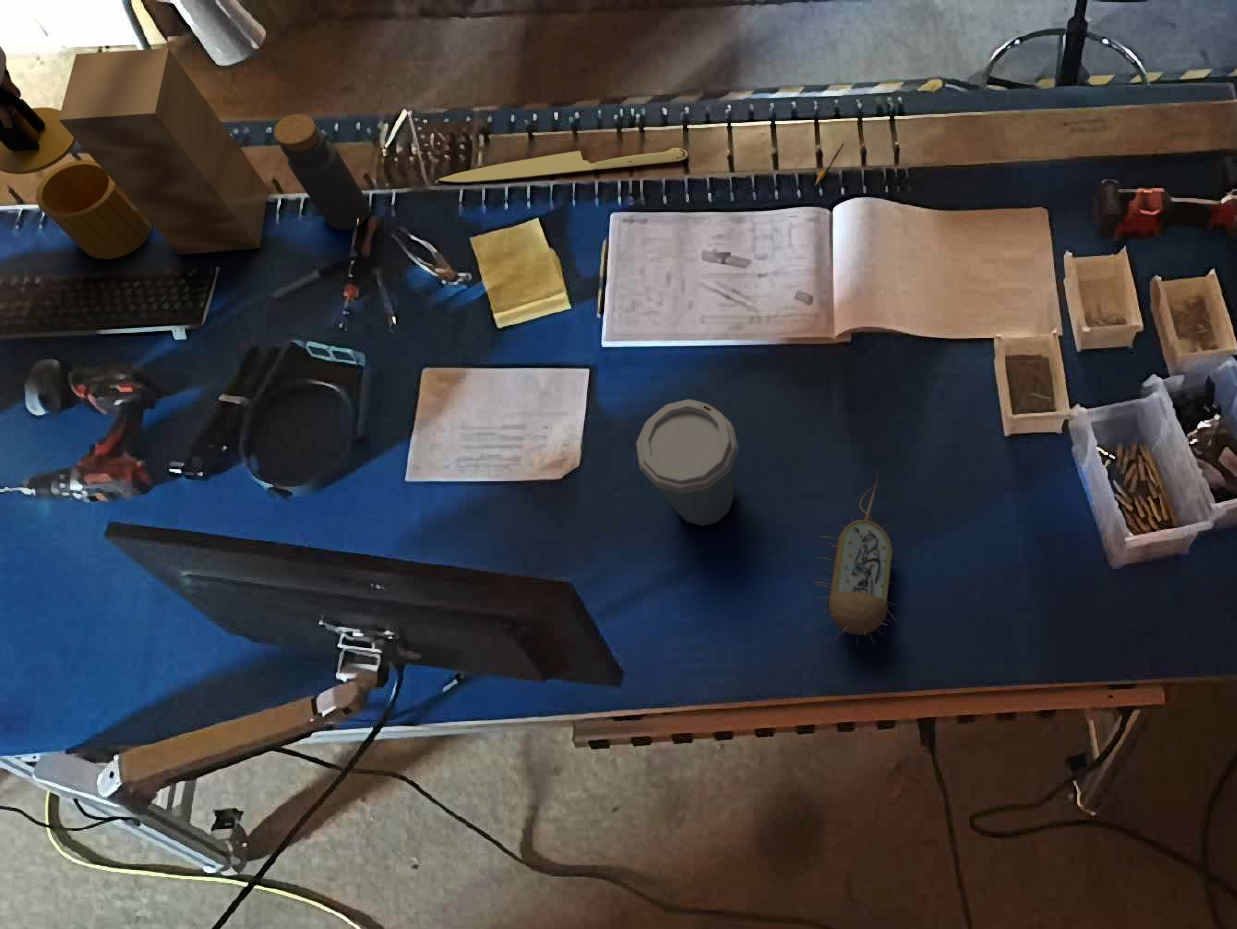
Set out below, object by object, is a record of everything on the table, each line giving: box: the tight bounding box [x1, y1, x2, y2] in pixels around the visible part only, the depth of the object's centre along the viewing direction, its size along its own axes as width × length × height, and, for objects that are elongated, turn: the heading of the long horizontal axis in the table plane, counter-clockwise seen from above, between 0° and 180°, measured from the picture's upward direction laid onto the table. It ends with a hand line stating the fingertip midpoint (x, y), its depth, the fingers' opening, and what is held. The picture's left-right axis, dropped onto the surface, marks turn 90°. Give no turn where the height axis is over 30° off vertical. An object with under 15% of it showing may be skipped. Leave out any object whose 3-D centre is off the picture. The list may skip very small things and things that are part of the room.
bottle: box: [273, 113, 371, 231], centre depth 133 cm, size 6×6×15 cm
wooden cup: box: [35, 159, 154, 260], centre depth 134 cm, size 9×9×8 cm
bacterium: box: [815, 467, 903, 647], centre depth 116 cm, size 11×20×10 cm, turn 174°
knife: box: [437, 147, 689, 183], centre depth 144 cm, size 1×34×5 cm
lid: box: [0, 103, 77, 175], centre depth 121 cm, size 10×10×5 cm
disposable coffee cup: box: [635, 398, 739, 526], centre depth 117 cm, size 11×11×15 cm
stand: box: [58, 47, 270, 255], centre depth 128 cm, size 10×10×23 cm
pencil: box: [815, 170, 827, 186], centre depth 146 cm, size 1×9×1 cm, turn 157°
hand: (28, 137), depth 122 cm, fingers closed on lid, 2 cm apart
